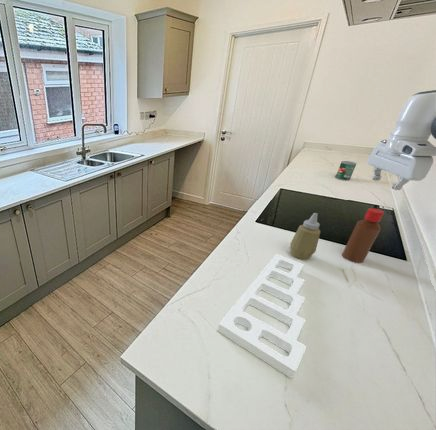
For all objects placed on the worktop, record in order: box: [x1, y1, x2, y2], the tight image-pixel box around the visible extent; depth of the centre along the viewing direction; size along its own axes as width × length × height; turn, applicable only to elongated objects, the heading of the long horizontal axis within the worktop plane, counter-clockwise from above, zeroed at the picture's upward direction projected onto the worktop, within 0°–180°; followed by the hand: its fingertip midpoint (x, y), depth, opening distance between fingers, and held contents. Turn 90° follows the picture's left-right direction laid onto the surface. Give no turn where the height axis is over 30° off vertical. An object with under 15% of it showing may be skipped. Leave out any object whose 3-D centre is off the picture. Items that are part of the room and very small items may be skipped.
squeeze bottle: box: [289, 212, 321, 261], centre depth 96 cm, size 8×8×18 cm
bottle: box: [341, 218, 382, 264], centre depth 94 cm, size 6×6×19 cm
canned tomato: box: [335, 160, 357, 181], centre depth 175 cm, size 8×8×11 cm
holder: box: [217, 253, 307, 379], centre depth 78 cm, size 45×18×3 cm, turn 134°
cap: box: [363, 207, 385, 223], centre depth 90 cm, size 4×4×4 cm
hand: (385, 184), depth 92 cm, fingers open, 8 cm apart
